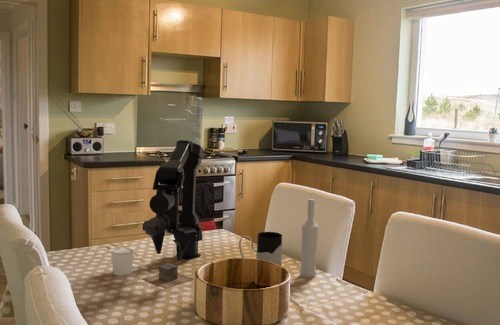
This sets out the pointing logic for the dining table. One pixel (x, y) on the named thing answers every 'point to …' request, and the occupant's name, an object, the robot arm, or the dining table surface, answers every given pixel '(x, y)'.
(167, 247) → the dining table surface
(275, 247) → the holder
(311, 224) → the bottle
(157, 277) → the walnut lid
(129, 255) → the white cup
